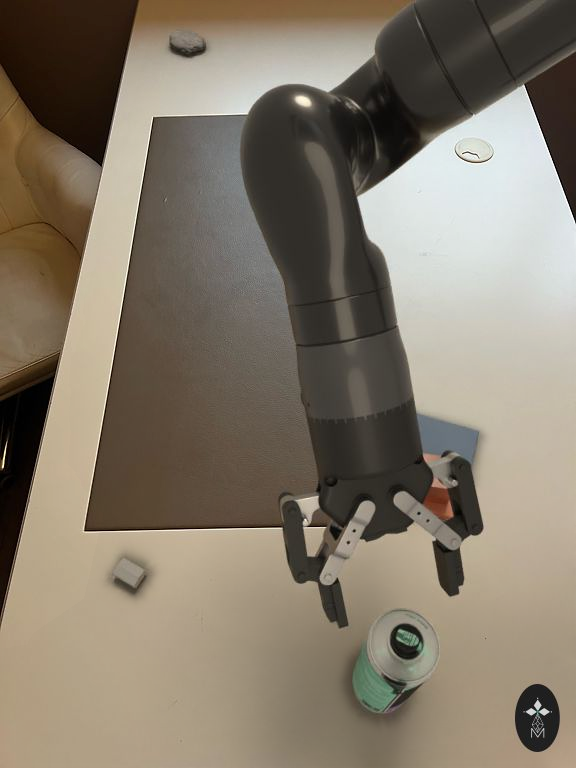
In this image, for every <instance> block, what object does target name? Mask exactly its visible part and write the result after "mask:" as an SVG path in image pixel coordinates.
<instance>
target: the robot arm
mask: <svg viewBox="0 0 576 768" xmlns="http://www.w3.org/2000/svg"><path fill="white" fill-rule="evenodd" d="M574 53H576V0H412V1H411V2H410V3H408V4H407V5H405V6H403V8H402V9H401V10H400V11H398V12H397V13H396V14H395V15H393V17H392V18H390V19H389V21H388V22H387V23H386V24H385V25H384V26H383V27H382V28H381V30H380V31H379V33H378V34H377V36H376V39H375V43H374V54H373V55H372V56H371V57H370V58H369V59H368V60H367V61H365V63H363V64H362V65H361V66H359V68H358V69H356V70H355V71H354V72H352V74H350V75H349V76H348V77H347V78H346V79H344V81H342V82H341V83H339V84H338V85H336V86H335V87H334V88H333V89H330V90H329V91H326V90H323V89H321V88H318V87H315V86H312V85H309V84H303V83H287V84H282V85H278V86H275V87H273V88H271V89H269V90H268V91H266V92H264V93H263V94H262V95H261V96H260V97H259V98H258V99H257V100H256V101H255V102H254V103H253V104H252V106H251V107H250V109H249V111H248V112H247V114H246V117H245V119H244V123H243V126H242V129H241V135H240V141H239V142H240V143H239V145H240V147H239V162H240V163H239V164H240V171H241V177H242V181H243V186H244V190H245V194H246V196H247V199H248V202H249V205H250V207H251V210H252V212H253V213H252V214H253V215H254V217H255V220H256V222H257V225H258V228H259V230H260V232H261V235H262V237H263V239H264V242H265V245H266V246H267V250H268V252H269V254H270V256H271V258H272V261H273V262H274V264H275V267H276V268H277V270H278V273H279V274H280V276H281V279H282V282H283V286H284V291H285V298H286V304H287V310H288V315H289V319H290V325H291V331H292V334H293V340H294V343H295V351H296V361H297V364H296V365H297V374H298V375H297V376H298V383H299V387H300V401H301V404H302V406H303V408H304V412H305V417H306V422H307V426H308V427H307V428H308V432H309V436H310V437H309V438H310V442H311V447H312V451H313V456H314V461H315V466H316V471H317V475H318V476H317V478H318V481H317V486H316V489H315V491H312V492H308V493H307V492H306V493H303V494H298V495H297V494H296V495H294V494H293V493H292V492H290V491H283V492H282V493H280V494H279V495H278V498H277V504H278V510H279V517H280V523H281V529H282V536H283V543H284V548H285V556H286V563H287V565H288V568H289V571H290V573H291V576H292V578H293V581H294V582H295V583H296V584H299V585H304V584H306V583H307V582H314V583H316V584H317V587H318V592H319V593H318V594H319V596H320V602H321V606H322V609H323V612H324V614H325V617H326V618H327V620H328V621H329V622H330V624H332V623H335V622H336V625H337V628H338V629H343V628H347V627H350V624H349V618H348V613H347V609H346V605H345V600H344V594H343V590H342V583H341V581H340V579H339V578H338V576H339V574H340V572H341V570H342V568H343V566H344V564H345V562H346V561H347V560H349V559H351V557H352V555H353V553H354V551H355V549H356V547H357V544H358V543H359V541H360V540H361V541H362V540H364V541H365V543H369V542H372V541H377V540H379V539H380V538H382V537H383V536H385V535H398V534H403V533H405V532H408V528H409V527H410V526H412V525H413V524H414V522H415V523H416V524H417V525H419V526H420V527H421V528H422V529H424V530H425V531H426V532H427V533H428V534H430V535H431V536H432V537H434V538H435V540H431V543H432V549H433V555H434V561H435V567H436V573H437V580H438V583H439V585H440V587H441V589H442V590H443V591H444V593H445V594H446V595H447V597H449V598H451V597H455V596H458V595H460V588H459V587H462V586H464V582H465V573H464V567H463V561H462V560H463V559H462V553H461V545H462V543H463V542H464V540H466V539H467V538H469V537H470V536H473V537H477V536H479V535H481V534H482V533H483V531H484V521H483V517H482V512H481V508H480V507H481V506H480V502H479V497H478V493H477V488H476V483H475V479H474V474H473V470H472V466H471V465H470V463H469V461H467V460H466V459H464V458H463V457H462V456H460V455H459V454H457V453H455V452H453V451H452V450H447V451H445V452H443V454H442V455H441V458H440V459H437V460H434V461H431V462H428V463H426V462H425V460H424V457H423V449H422V443H421V437H420V431H419V425H418V419H417V414H418V413H417V407H416V401H415V395H414V389H413V382H412V375H411V371H410V370H411V369H410V365H409V359H408V355H407V352H406V348H405V345H404V341H403V339H402V338H403V337H402V334H401V331H400V328H399V325H398V316H397V310H396V303H395V299H394V292H393V286H392V281H391V280H392V279H391V276H390V271H389V267H388V262H387V260H386V257H385V255H384V252H383V250H382V249H381V247H380V246H379V245H377V244H376V243H375V242H374V241H372V240H371V239H370V238H369V235H368V233H367V230H366V227H365V223H364V219H363V215H362V211H361V207H360V202H359V197H361V196H362V195H364V194H365V193H367V192H368V191H370V190H371V189H374V188H375V187H376V186H378V185H379V184H380V183H382V182H383V181H385V180H386V179H387V178H389V177H390V176H391V175H393V174H394V173H395V172H396V171H398V170H399V169H401V167H403V166H404V165H405V164H407V163H408V162H409V161H410V160H411V159H413V158H415V156H417V155H418V154H419V153H420V152H421V151H423V150H424V149H425V148H426V147H427V146H428V145H430V143H432V142H433V141H434V140H435V139H436V138H438V137H440V136H441V135H443V134H444V133H446V132H448V131H449V130H452V129H454V128H455V127H458V126H460V125H461V124H463V123H464V122H466V121H468V120H471V119H472V118H473V117H474V115H475V116H476V115H478V114H479V113H481V112H483V111H485V109H487V108H489V107H491V106H493V105H494V104H495V103H497V102H499V101H500V100H501V99H503V98H505V97H507V96H508V95H510V94H511V93H513V92H515V91H517V89H518V88H521V87H522V86H524V85H526V84H527V83H528V82H530V81H532V80H533V79H535V78H536V77H538V76H539V75H541V74H543V73H544V72H546V71H548V69H551V68H552V67H554V66H555V65H557V64H558V63H560V62H561V61H563V60H564V59H566V58H567V57H568V58H569V56H571V55H573V54H574ZM434 478H438V481H439V482H440V483H441V484H443V485H444V486H445V487H447V489H448V494H449V498H450V503H451V507H452V512H453V517H452V518H450V519H449V520H447V519H446V521H444V519H442V518H440V517H438V516H437V515H435V514H434V513H433V512H432V511H431V510H429V509H428V508H427V507H426V506H425V505H424V504H423V502H424V500H425V498H426V496H427V494H428V492H429V490H430V488H431V486H432V483H433V479H434ZM319 509H320V510H321V512H323V514H325V515H326V516H327V517H328V518H329V520H328V522H327V524H326V527H325V529H324V531H323V535H322V541H321V543H320V545H319V546H318V549H317V551H316V553H315V555H314V556H310V555H309V556H308V550H307V543H306V536H305V530H304V528H306V527H307V528H308V527H309V526H310V525H311V523H312V521H313V514H314V513H315V511H316V510H319Z"/></svg>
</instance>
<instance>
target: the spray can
mask: <svg viewBox="0 0 576 768" xmlns="http://www.w3.org/2000/svg"><path fill="white" fill-rule="evenodd" d="M440 656H441V644H440V638H439V635H438V633H437V631H436V628H435V627H434V625H433V624H432V623H431V621H430V620H429V619H428V618H426V617H425V616H424V615H423V614H421V613H420V612H418V611H416V610H413V609H411V608H406V607H405V608H404V607H402V608H400V607H399V608H398V607H397V608H393V609H390V610H387V611H385V612H384V613H382V614H381V615H379V616H378V617H377V618H376V619H375V621H373V622H372V624H371V626H370V628H369V630H368V633H367V635H366V638H365V641H364V643H363V646H362V649H361V650H360V653H359V656H358V658H357V661H356V663H355V667H354V669H353V671H352V679H351V680H352V681H351V682H352V689H353V692H354V694H355V697H356V699H357V700H358V702H359V703H360V704H361V705H362V706H363V707H364V708H366V709H367V710H368V711H371V712H373V713H377V714H389V713H392V712H393V711H396V710H398V709H399V708H400V707H401V706H402V705H404V703H406V701H407V700H408V699H409V698H410V697H412V695H413V694H414V693H416V692H417V690H419V688H420V687H422V686H423V684H424V683H426V682H427V680H429V679H430V678H431V677H432V675H433V674H434V672H435V671H436V669H437V667H438V664H439V660H440Z"/></svg>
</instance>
